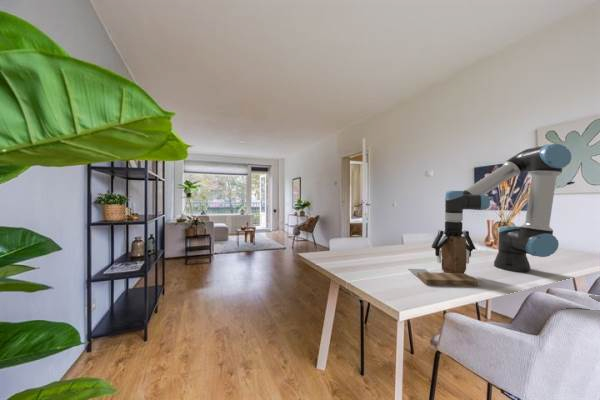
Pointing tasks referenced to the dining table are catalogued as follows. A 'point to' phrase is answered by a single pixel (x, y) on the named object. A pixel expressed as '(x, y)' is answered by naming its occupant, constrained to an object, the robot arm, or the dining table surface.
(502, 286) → the dining table surface
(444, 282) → the board
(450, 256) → the block
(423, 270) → the end pad
